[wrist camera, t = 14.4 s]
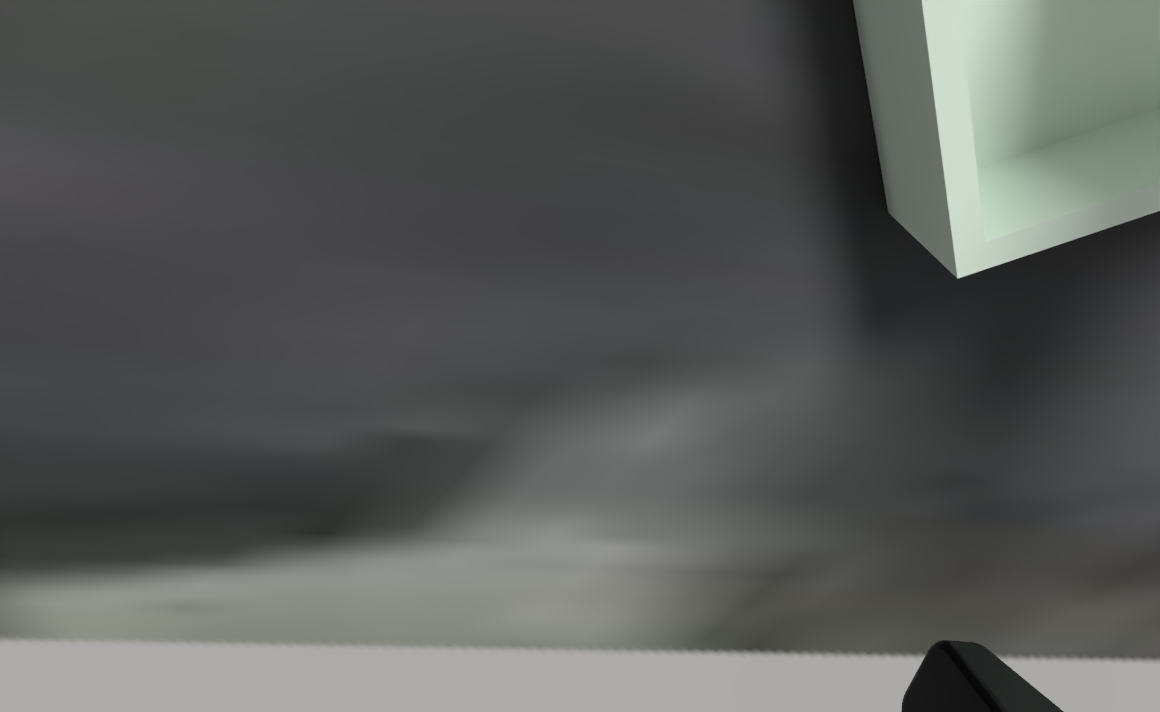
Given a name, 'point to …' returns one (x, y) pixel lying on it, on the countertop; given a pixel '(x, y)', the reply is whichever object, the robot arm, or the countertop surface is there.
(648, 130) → the countertop surface
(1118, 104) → the tray
